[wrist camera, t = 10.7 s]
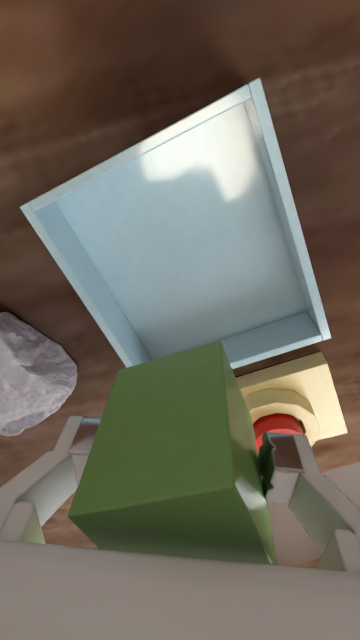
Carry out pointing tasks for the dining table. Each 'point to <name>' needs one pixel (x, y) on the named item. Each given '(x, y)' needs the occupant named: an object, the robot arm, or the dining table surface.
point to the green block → (176, 465)
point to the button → (275, 426)
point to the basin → (189, 240)
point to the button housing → (296, 395)
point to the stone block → (30, 375)
